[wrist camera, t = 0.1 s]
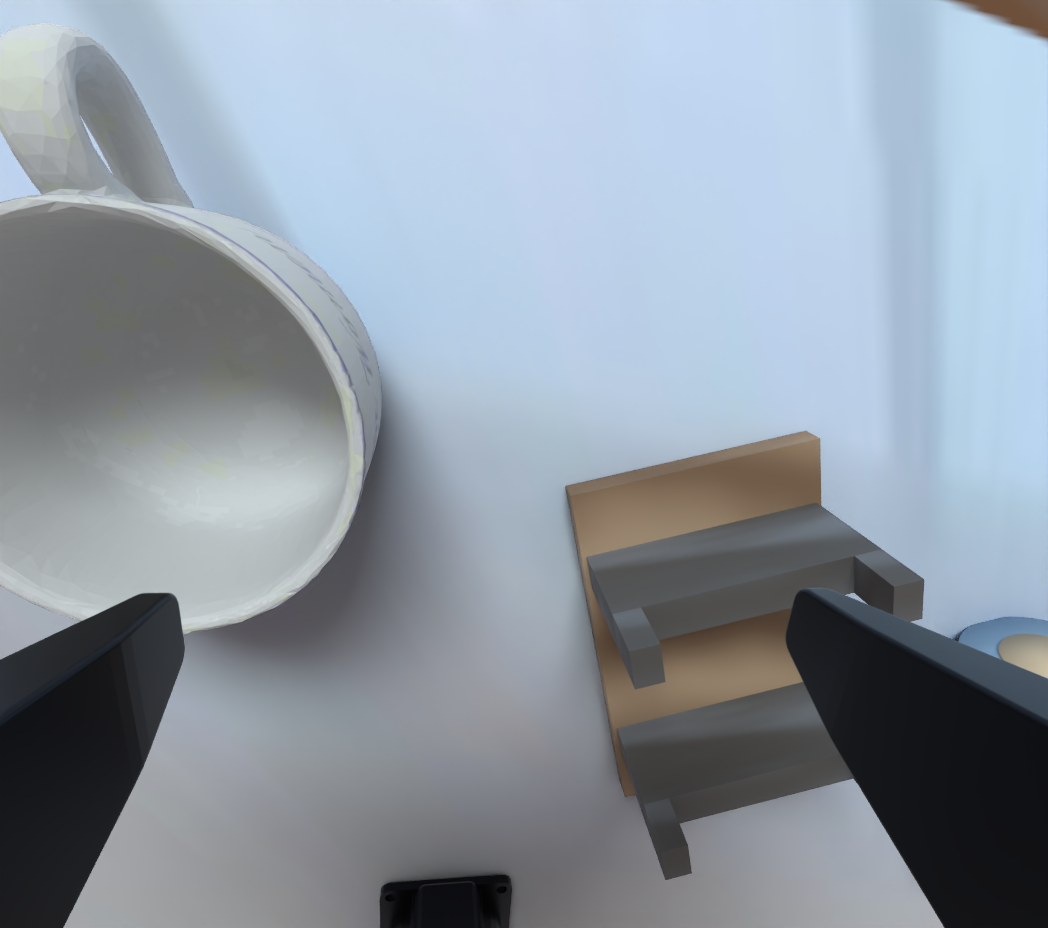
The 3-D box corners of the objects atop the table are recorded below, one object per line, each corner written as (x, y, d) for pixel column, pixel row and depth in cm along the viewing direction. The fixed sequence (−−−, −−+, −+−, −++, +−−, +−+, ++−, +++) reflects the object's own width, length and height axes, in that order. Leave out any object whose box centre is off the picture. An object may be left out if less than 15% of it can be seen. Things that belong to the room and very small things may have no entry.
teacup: (384, 521, 24) (358, 650, 17) (79, 505, 22) (-102, 640, 15) (403, 121, 19) (379, 51, 12) (21, 63, 18) (-283, -60, 10)
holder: (813, 730, 31) (913, 863, 24) (619, 779, 30) (668, 929, 24) (805, 430, 25) (935, 499, 18) (565, 486, 24) (610, 577, 18)
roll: (1018, 787, 34) (1129, 893, 29) (916, 813, 34) (1009, 926, 29) (1043, 601, 30) (1182, 685, 24) (926, 630, 30) (1039, 722, 24)
